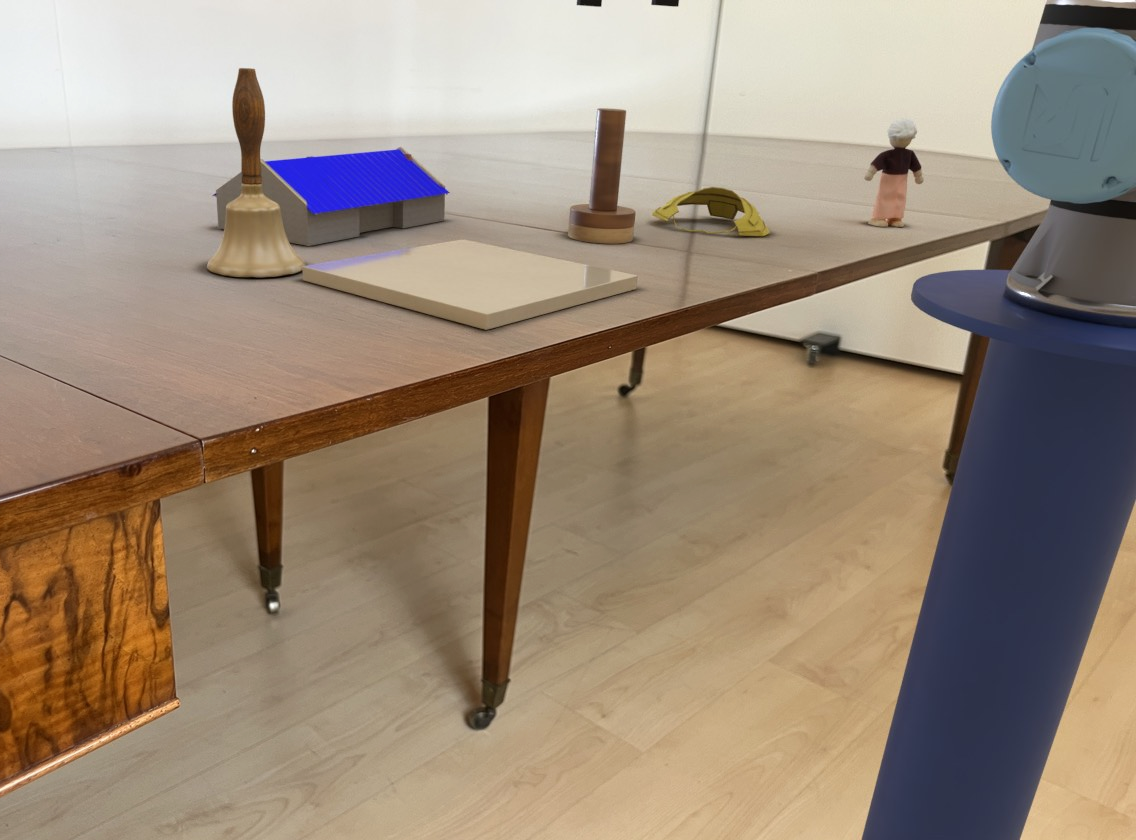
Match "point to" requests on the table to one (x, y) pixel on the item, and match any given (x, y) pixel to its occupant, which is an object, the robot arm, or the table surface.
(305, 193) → the model house
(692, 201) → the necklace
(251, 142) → the hand bell
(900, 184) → the grandmother figurine
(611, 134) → the dish brush
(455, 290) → the tile
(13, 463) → the table surface
